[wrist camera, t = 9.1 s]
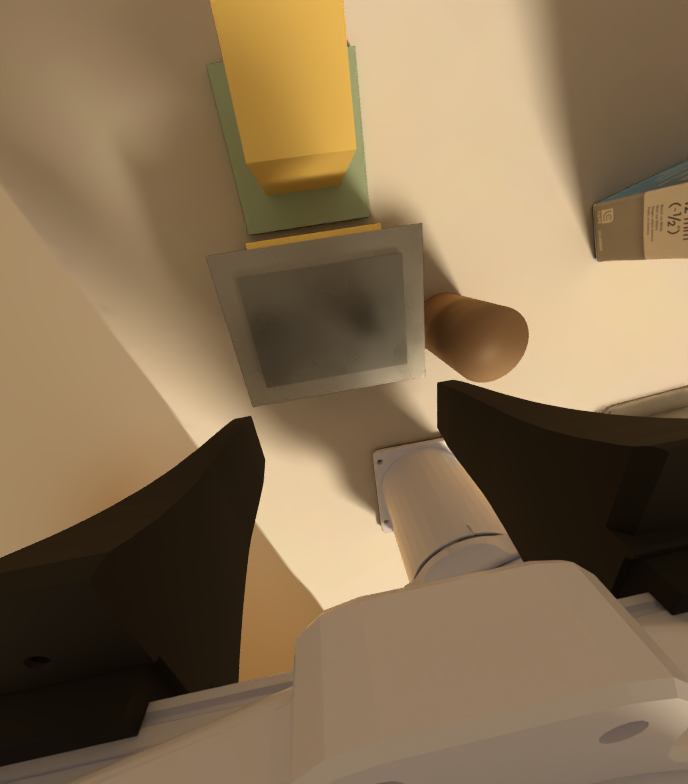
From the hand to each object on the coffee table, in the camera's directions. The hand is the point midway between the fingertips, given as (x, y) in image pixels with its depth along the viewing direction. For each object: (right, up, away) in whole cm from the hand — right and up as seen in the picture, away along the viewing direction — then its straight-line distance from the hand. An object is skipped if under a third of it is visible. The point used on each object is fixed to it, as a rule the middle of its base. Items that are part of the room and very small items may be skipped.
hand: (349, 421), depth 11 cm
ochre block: (-3, +14, +4) cm, 15 cm away
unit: (-2, +7, +8) cm, 10 cm away
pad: (-3, +14, +4) cm, 15 cm away
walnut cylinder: (+7, +6, +9) cm, 13 cm away
